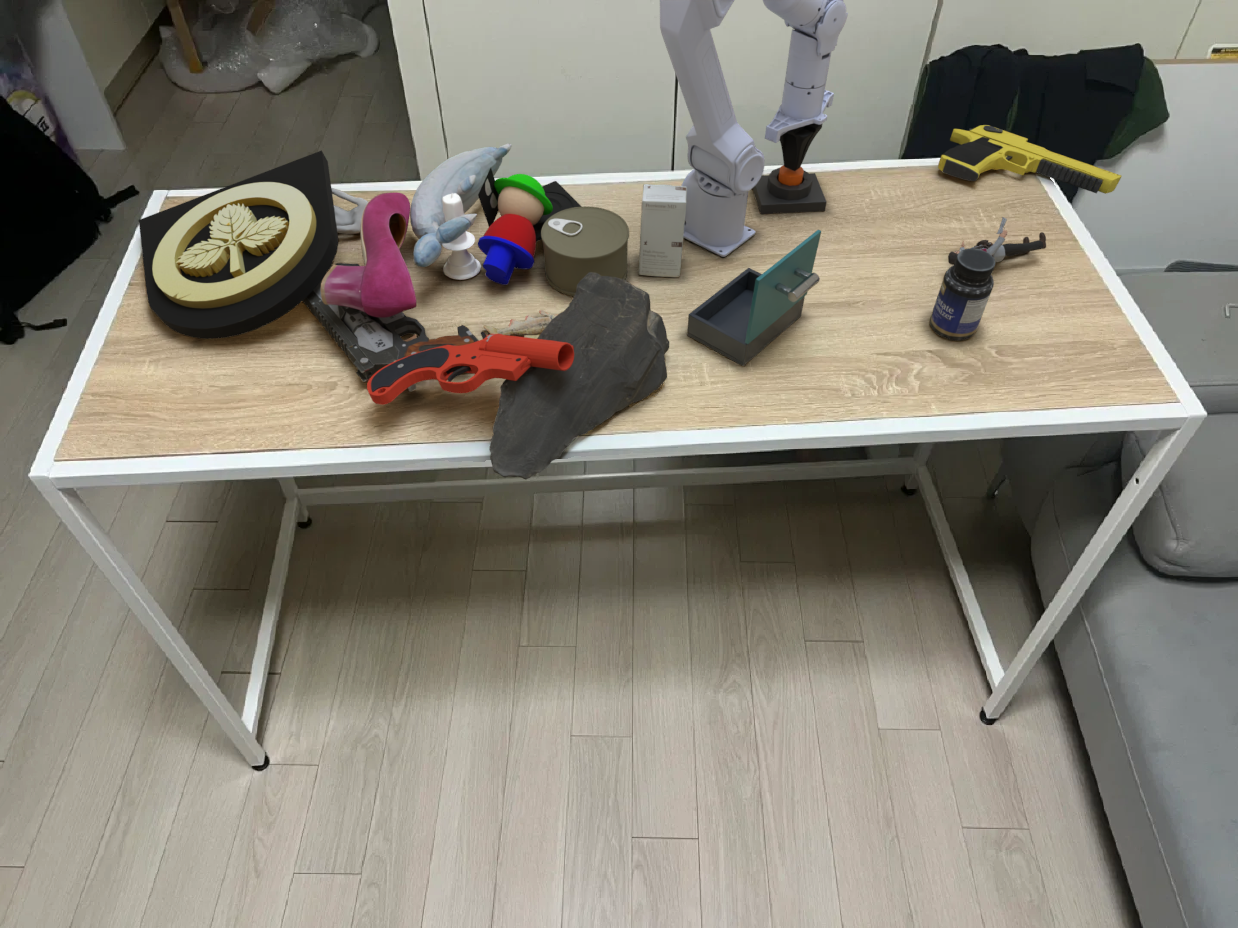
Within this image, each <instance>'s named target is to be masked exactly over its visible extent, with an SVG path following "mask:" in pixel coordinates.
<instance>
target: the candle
mask: <svg viewBox="0 0 1238 928" xmlns="http://www.w3.org/2000/svg"><path fill="white" fill-rule="evenodd" d="M442 203H443V213H444V216H445V222H447V221H449V220H451V219H453V218H457V217H459V216H462V215H465V214H466V213H465V214H464V211H463V204H462V201H461V198H460V196H459V195H458V194H456V193H452V194H448V195H446V196H444V197H443V198H442ZM475 242H476V237H475V235H474V234H473V233H472V232H469V231H468V230H466V231H465V232H464V233H463V234H462V235H461V236H460V237H458V238H457V239H456V240H454V241H452V242H450V243H445V244H442V248H444V249H446V250H447V251H451V254H450V255H449V256H448V257H447V260H446V262H445V264H444V265H443V267H442V271H443V274H444V275H445V276H446V277H447V278H449V279H453V280H457V281H458V280H459V281H461V280H464V281H465V280H468V279H471V278H474V277H476V276H477V275H478V274H479V273H480V271H481V270H482V263H481V262H480V261H479V260H478V259H477V258H476V257H475V256H474V255H473V253H471V252H469V250H468V249H469V248H471V247H472V246H473V245H474V244H475Z"/></svg>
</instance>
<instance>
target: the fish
mask: <svg viewBox="0 0 1238 928" xmlns="http://www.w3.org/2000/svg"><path fill="white" fill-rule="evenodd" d="M538 312H539V314H540V315H541V316H539V317H534V316H532V315H530V314H527V315H526V316H525V317H524V320H525V321H520V320H519V319H514V318H510V320H509V324H508V327H504V328H496V327H493V326H491V325H487V324H486V325H483V329H484V330H485V331H487V332H488V334H503V335H508V336H518V337H526V338H534V339H537V338H538V337H539V336H540V334H541V333H542V331H543V330H544V329H545V327H546V326H547V325H548V324H549V323H550V321H551V320H552V319H553V318H555V317H556V316H557V315H558V314H559V313H555V314H550V313H548V312H547V311H545V310H543V309H540V310H539V311H538Z"/></svg>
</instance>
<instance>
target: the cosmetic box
mask: <svg viewBox="0 0 1238 928" xmlns="http://www.w3.org/2000/svg"><path fill="white" fill-rule="evenodd" d="M686 198H687V187H685V186H682V185H672V184H665V183H663V184H652V183H651V184H650V183H643V186H642V198H641V214H640V215H641V216H640V230H639V232H640V233H639V255H638V256H639V258H638V275H639V276H649V277H663V278H679V277H680V276H681V269H682V268H681V266H682V257H683V245H684V238H683V235H684V223H685V213H686Z"/></svg>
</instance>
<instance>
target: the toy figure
mask: <svg viewBox="0 0 1238 928" xmlns="http://www.w3.org/2000/svg"><path fill="white" fill-rule="evenodd" d="M542 186H543V185H542V184H541V183H540V182H539V180H537V179H536V178H534V177H533V176H532V175H528V174H525V173H515V174H511V175H510V176H508V177H499V178H497V179H496V178H495V175H494V176H493V172H492V169H491V168H490V170H489V172H488V175H487V177H486V179H485V181H484V183H483V185H482V187H481V190H480V192H479V194H478V196H479V199H478V200H479V202H480V205H481V208H482V211H483V214H484V217H485V220H486V223H487V225H488V228H487V229H486V231H485V232H484V234H483V235H482V236H480V237H479V238H478V240H477V247H478V249H479V250H480V252H482V253H483V254H484V255H486V257H485V259H484V261H483V263H482V268H483V269H484V270H485V272H484V273H485V274H484V275H485V277H486V278H487V279H488V280H489V281H492V282H494V283H495V284H498V285H502V286H506V285H509V283H510V280H511V279H512V278H511V277H512V275H513V272H514V270H515V269H517V270H529V269H532V268H534V265H535V255H536V251H537V250H536V249H537V242H536V235H535V230H534V228H533V225H535V224H536V223H537V222H538V221H539V220H540V218H541V217H542V215H548V214H550V213H551V212H552V211H553V206H552V204H551V202H550V201H549V199H548V198H547V197H546V196H545V192H544V189H543V187H542ZM498 214H499V215H500V217H498V218H497V215H498ZM496 218H497V219H496Z"/></svg>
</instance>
